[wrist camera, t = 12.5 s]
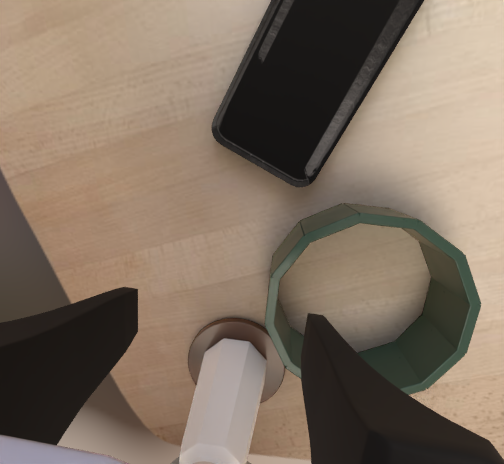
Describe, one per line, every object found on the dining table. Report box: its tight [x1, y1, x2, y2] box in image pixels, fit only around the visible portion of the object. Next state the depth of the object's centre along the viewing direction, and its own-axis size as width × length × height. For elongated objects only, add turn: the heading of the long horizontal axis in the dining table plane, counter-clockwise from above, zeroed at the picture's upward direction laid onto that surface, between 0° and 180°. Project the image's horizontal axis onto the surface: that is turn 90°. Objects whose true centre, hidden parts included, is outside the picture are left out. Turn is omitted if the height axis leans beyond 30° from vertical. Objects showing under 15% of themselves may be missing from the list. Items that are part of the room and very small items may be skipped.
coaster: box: [188, 318, 285, 403], centre depth 24 cm, size 8×8×1 cm
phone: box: [212, 0, 424, 187], centre depth 18 cm, size 8×1×15 cm
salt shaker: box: [179, 338, 267, 464], centre depth 18 cm, size 5×5×11 cm
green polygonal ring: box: [265, 203, 481, 395], centre depth 20 cm, size 12×12×4 cm
